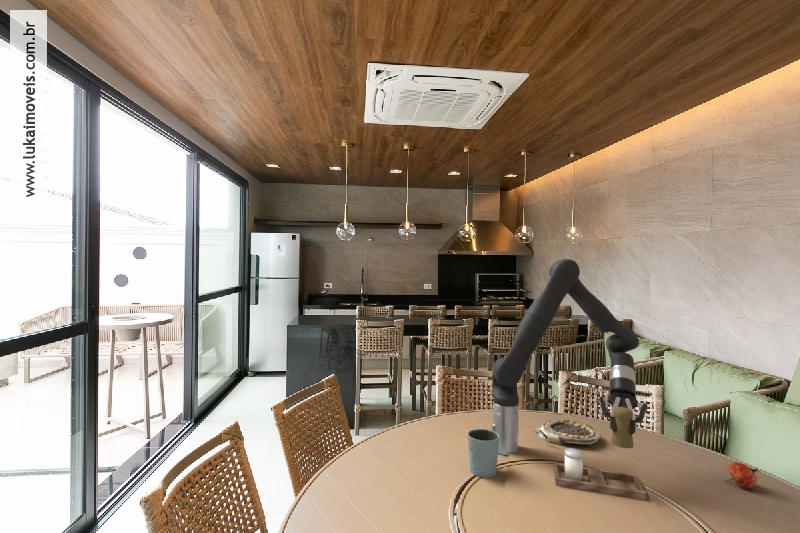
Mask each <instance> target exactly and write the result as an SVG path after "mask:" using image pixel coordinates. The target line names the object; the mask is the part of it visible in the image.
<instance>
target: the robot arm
mask: <svg viewBox="0 0 800 533" xmlns="http://www.w3.org/2000/svg"><path fill="white" fill-rule="evenodd" d="M548 271H549V272H548V273H549V279H548V282H547V283H546V285H545V287H544V289H543V290H542V292H541V293H540V294H539V295H538V297H536V298H535V300H533V302H532V303H531V305H530V306H529V308H528V309H527V310H526V312H525V314H524V316H523V317H522V319H521V321H520V323H519V325H518V327H517V331H516V334H515V336H514V340H513V343H512V345H511V347H510V349H509V351H508V352H507V354H506V356H505V357H500V358H498V359H497V360H495V361H494V364H493V365H492V371H491V374H492V376H491V377H492V378H491V381H492V382H491V385H492V386H491V387H492V388H491V389H492V390H491V391H492V392H491V393H492V400H493V401H492V426H491V430H492V431H494V432H496V433H498V434H499V446H498V455H503V456H509V455H510V454H515V453H517V452H519V442H520V441H519V440H520V439H519V436H520V435H519V434H520V432H519V430H520V428H519V427H520V424H519V422H520V420H519V419H520V397H519V390H518V383H519V382H520V380H521V378H522V376H523V374H524V371H525V369H526V367H527V365H528V362H529V360H530V358H531V357H532V354H534V352H535V350H536V349H537V347H538V345H539V344H540V343H541V341H542V339H543V337H544V336H545V334H546V332H547V330H548V329H549V328H550V325H551V324H552V322H553V320H554V318H555V316H556V314H557V312H558V310H559V309H560V306H561V304H562V302H563V300H564V299H565V297H566V296H567V295H568V296H570V298H572V300H573V301H574V302H575V303H576V304H577V305H578V307H579V308H581V310H582V311H583V313H584V314H585V315H586V316H587V318H588V319H589V320H590V321H591V322H592V324H593V325H594V326H595V328H596V329H597V330H598V331H599V332H600V333H613V334H611V335H610V336H609V335H608V337H607V338H606V341H605V347H606V351H607V353H608V356H609V359H610V372H609V380H608V381H609V383H608V384H609V391H608V392H609V394H608V396H607V397H604V396H599V398H598V403H599V405H600V406H599V407H600V408H601V412H602V414H603V417H604V418H608V419H609V429H610V430H612V433H613V432H615V416H614V414H613V411H614V409H615V408H616V407H625V408H628V409H630V410H631V411H632V414H633V417H632V419H631V420H630V435H632V436H633V435H634V434H636V424H642V423H643V421H644V418H645V415H646V412H647V410H648V404H647V403H641V402H639V400H638V398H637V393H636V392H637V388H636V387H637V386H636V382H637V381H636V375H635V359H634V357H633V355H631V354H630V353H628V352H631V351H633V350H635V349H637V348H638V347H639V346H640V340H639V337H638V335H637V333H636V332H634V330H632V329H631V328H629V326H627V325H626V324H624V323H622V322H621V321H620V320H619V319H617V318H616V317H615V315H614V314H612V312H611V311H610V309H609V308H608V307H607V306H606V305H605V304H604V302H602V301H601V300H600V299H599V298H598V297H596V296H595V295H594V294H593V293H592V292H591V291H590V290H589V289H588V288H587V287H586V286H585V285H584V284H583V282H582V281H581V280H580V278H579V277H580V273H581V271H580V266H579V264H578V263H577V262H576V261H575V260H573V259H571V258H570V259H569V258H564V259H558V260H557V261H555V262H553V263H552V264H551V266H550V267H549V269H548ZM608 403H609V404H610V406H611V407H612V408H611V411H610V412H609V410H608V408H607V405H608ZM637 407H638V411H639V414H638V416H636V415H635V413H634V410H635V409H636V408H637Z"/></svg>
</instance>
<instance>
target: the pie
mask: <svg viewBox="0 0 800 533" xmlns="http://www.w3.org/2000/svg"><path fill="white" fill-rule="evenodd" d="M533 431H534V432H535V433H536V434H538V436H539V437H540V439H544V442H545V444H546V445H547V446H549V447H551V448H552V447H553V446H551V445H550V444H551V443H554V444H559V445H563V446H565V445H567V446H573V447H576V446H577V447H578V446H579V447H587V448H588V447H591V446H593V444H597V443H598V442H597V441H599V439H600V438H601V432H600V431H599V430H598V429H597V428H595V427H592V425H590V424H586V423H583V422H578V421H577V420H572V419H565V418H563V419H562V418H560V419H554V420H552V419H549V420H545V421H544V422H543V423H542V425H541V427H539V428H534V430H533ZM538 431H539V432H538ZM557 449H558V450H559V448H557Z"/></svg>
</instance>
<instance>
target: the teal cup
mask: <svg viewBox="0 0 800 533" xmlns="http://www.w3.org/2000/svg"><path fill="white" fill-rule="evenodd" d="M467 441H468V451H469V453H468V455H469V456H468V457H469V472H471V474H472V475H474V476H476V477H480V478H492V477H494V476H496V475H497V470H498V467H497V465H498V461H499V460H498V458H499V453H498V446H499V434H498V433H496V432H494V431H492V429H487V428H475V429H471V430H469V431H468V432H467Z"/></svg>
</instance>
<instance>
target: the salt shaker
mask: <svg viewBox="0 0 800 533" xmlns="http://www.w3.org/2000/svg"><path fill="white" fill-rule="evenodd" d="M564 464H565V479H570V480H577V481H583V467H584V453H583V451H581V450H580V449H576V448H573V447H572V448H571V447H570V448H568V447H567V448H565V449H564Z"/></svg>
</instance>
